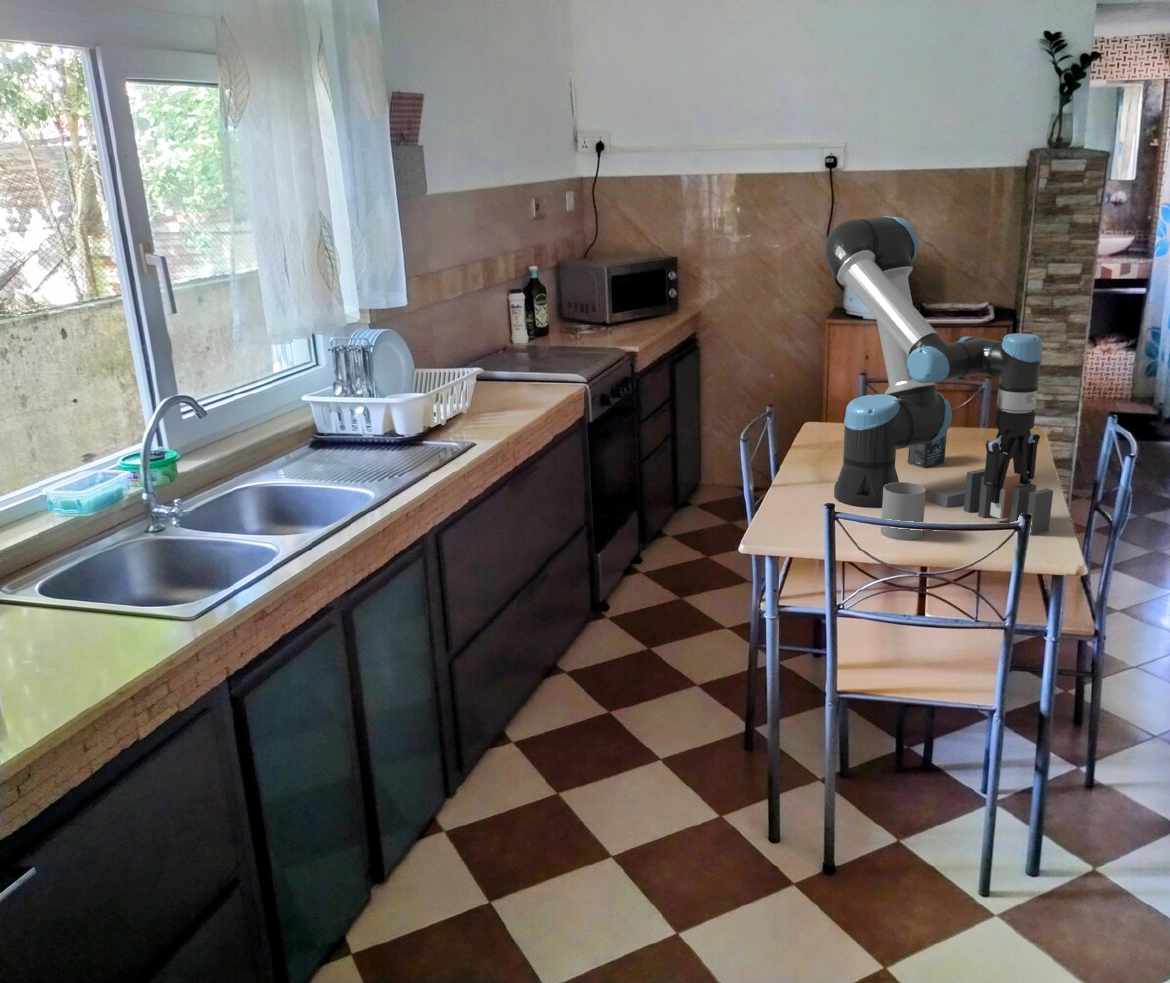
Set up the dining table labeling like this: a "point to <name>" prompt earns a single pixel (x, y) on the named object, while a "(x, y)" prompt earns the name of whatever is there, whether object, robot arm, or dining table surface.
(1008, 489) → the domino
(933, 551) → the dining table surface
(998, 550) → the dining table surface
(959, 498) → the block
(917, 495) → the cup
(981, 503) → the domino
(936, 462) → the box
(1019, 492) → the domino
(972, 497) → the domino
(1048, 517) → the domino
